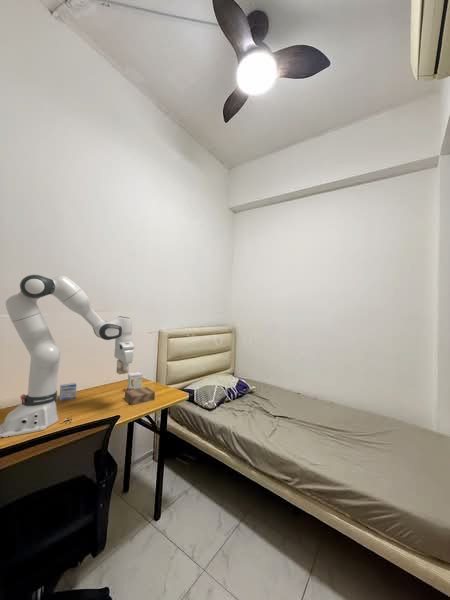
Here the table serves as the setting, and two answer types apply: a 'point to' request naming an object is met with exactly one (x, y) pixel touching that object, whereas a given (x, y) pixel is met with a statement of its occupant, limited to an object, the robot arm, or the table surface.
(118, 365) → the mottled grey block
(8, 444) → the table surface
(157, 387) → the table surface
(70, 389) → the medicine box
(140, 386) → the ink box
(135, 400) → the walnut block
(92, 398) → the table surface
